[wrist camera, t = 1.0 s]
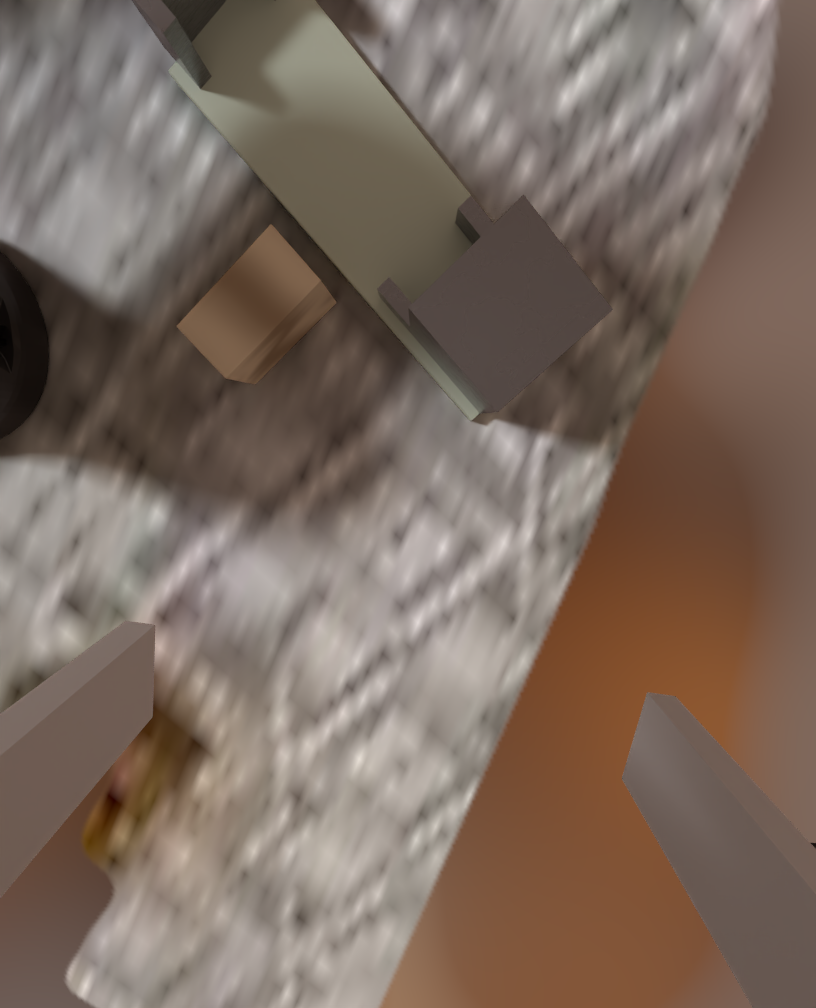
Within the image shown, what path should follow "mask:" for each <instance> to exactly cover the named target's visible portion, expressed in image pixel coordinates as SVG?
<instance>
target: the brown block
mask: <svg viewBox="0 0 816 1008" xmlns="http://www.w3.org/2000/svg"><path fill="white" fill-rule="evenodd" d="M336 303H337V302H336V301H335V299H334V298H333V296H332V295H331V294H330V292H329V291H328V290H327V288H326V287H325V285H324V284H323V283H322V281H321V280H320V279H319V278H318V277H317V275H316V274H315V273H314V272H313V271H312V270H311V269H310V267H309V266H308V265H307V264H306V263H305V262H304V261H303V259H302V258H301V257H300V256H299V255H298V254H297V253H296V252H295V250H294V249H293V248H292V247H291V246H290V245H289V244H288V242H287V241H286V240H285V239H284V238H283V237H282V236H281V234H280V233H279V232H278V231H277V230H276V229H275V228H274V226H273V225H272V224H270V225H269V227H268V228H267V229H266V230H265V231H264V232H263V233H262V234H261V235H260V236H259V237H258V238H257V239H256V241H255V242H254V243H253V244H252V245H251V246H250V247H249V248H248V249H247V250H246V251H245V252H244V254H243V255H242V256H241V257H240V258H239V259H238V260H237V261H236V262H235V263H234V264H233V265H232V267H231V268H230V269H229V270H228V271H227V272H226V273H225V274H224V275H223V276H222V277H221V278H220V279H219V281H218V282H217V283H216V284H215V285H214V286H213V287H212V288H211V289H210V290H209V291H208V292H207V294H206V295H205V296H204V297H203V298H202V299H201V300H200V301H199V302H198V303H197V304H196V305H195V307H194V308H193V309H192V310H191V311H190V312H189V313H188V314H187V315H186V316H185V317H184V318H183V319H182V321H181V322H180V323H179V324H178V325H177V326H176V327H177V328H178V329H179V330H180V331H181V332H182V333H183V334H184V335H185V336H186V337H187V338H188V339H189V340H190V342H191V343H192V344H193V345H194V346H195V347H196V348H197V349H198V350H199V351H200V352H201V353H202V354H203V355H204V356H205V357H206V358H207V359H208V361H209V362H210V363H211V364H212V365H213V366H214V367H215V368H216V369H217V370H218V371H219V372H220V373H221V374H222V375H223V376H224V377H225V379H230V380H235V381H240V382H245V383H250V384H255V385H256V384H257V383H258V382H259V381H260V380H261V379H262V378H263V377H264V376H265V375H266V374H267V373H268V372H269V371H270V369H271V368H272V367H273V366H274V365H275V364H276V363H277V362H278V361H279V360H280V359H281V358H282V357H283V356H284V355H285V354H286V353H287V352H288V351H289V350H290V349H291V348H292V347H293V346H294V345H295V344H296V343H297V342H298V341H299V340H300V339H301V338H302V337H303V336H304V335H305V334H306V333H307V332H308V331H309V330H310V329H311V328H312V327H313V326H314V325H315V324H316V323H317V322H318V321H319V320H320V319H321V318H322V317H323V316H324V315H325V314H326V313H327V312H328V311H329V310H330V309H331V308H332V307H333V306H334V305H335V304H336Z"/></svg>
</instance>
